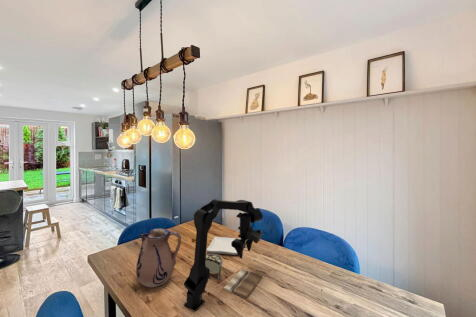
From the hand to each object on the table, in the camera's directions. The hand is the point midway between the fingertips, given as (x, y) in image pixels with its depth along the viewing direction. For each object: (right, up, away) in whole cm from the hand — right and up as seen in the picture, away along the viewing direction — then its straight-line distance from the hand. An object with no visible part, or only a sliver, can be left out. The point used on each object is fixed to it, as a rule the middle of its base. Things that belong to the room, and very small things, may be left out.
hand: (245, 254), depth 112 cm
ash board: (-4, -12, -3) cm, 13 cm away
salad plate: (-12, -11, +33) cm, 37 cm away
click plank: (+2, -12, -6) cm, 14 cm away
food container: (-16, -12, +3) cm, 20 cm away
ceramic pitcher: (-43, -12, -3) cm, 45 cm away
